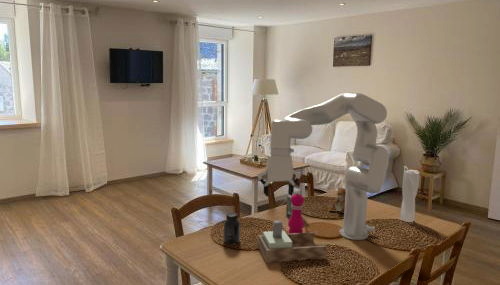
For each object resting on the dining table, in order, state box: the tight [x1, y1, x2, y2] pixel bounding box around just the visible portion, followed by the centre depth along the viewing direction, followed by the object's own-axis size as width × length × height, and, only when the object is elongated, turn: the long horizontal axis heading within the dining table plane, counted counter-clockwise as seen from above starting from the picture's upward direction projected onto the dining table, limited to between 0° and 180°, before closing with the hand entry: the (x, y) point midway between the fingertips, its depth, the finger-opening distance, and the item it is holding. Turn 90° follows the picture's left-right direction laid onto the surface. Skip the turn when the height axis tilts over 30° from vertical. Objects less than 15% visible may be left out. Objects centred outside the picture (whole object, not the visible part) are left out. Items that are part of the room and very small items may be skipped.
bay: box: [257, 231, 327, 264], centre depth 150 cm, size 24×14×5 cm, turn 102°
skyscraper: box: [398, 165, 420, 223], centre depth 186 cm, size 8×8×28 cm
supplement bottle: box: [223, 212, 241, 245], centre depth 159 cm, size 7×7×12 cm
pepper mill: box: [287, 190, 305, 234], centre depth 168 cm, size 7×7×20 cm
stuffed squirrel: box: [328, 186, 346, 213], centre depth 201 cm, size 10×14×13 cm
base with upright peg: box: [262, 220, 292, 249], centre depth 148 cm, size 9×11×12 cm
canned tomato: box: [285, 193, 303, 219], centre depth 190 cm, size 8×8×11 cm
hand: (278, 195), depth 146 cm, fingers open, 9 cm apart
